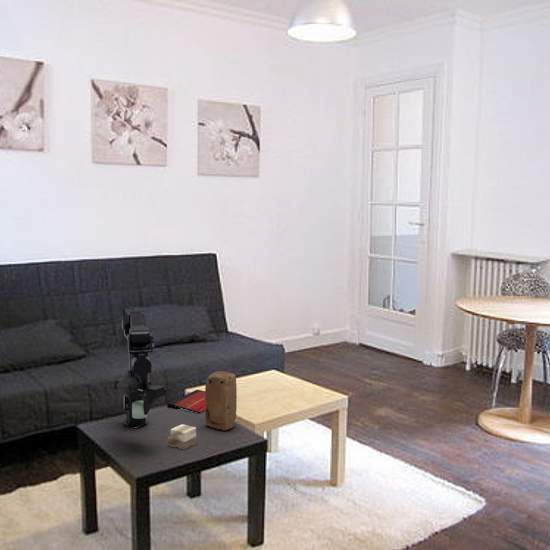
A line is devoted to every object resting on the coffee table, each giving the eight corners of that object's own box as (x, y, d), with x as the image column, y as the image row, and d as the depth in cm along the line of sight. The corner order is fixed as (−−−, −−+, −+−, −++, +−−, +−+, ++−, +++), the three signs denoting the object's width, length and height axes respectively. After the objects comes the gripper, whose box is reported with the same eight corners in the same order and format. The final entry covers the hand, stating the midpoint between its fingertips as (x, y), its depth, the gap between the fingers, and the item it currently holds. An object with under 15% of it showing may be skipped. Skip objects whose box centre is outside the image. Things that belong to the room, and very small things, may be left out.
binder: (167, 402, 251) (196, 388, 270) (166, 408, 251) (196, 394, 270) (201, 411, 244) (229, 396, 263) (201, 417, 244) (229, 401, 263)
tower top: (170, 438, 213) (170, 429, 213) (182, 432, 218) (182, 424, 218) (184, 441, 210) (184, 433, 210) (196, 436, 215) (196, 427, 215)
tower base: (167, 446, 214) (167, 437, 213) (181, 439, 220) (181, 431, 219) (183, 451, 210) (183, 442, 210) (197, 444, 216) (197, 435, 216)
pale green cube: (129, 416, 212) (128, 403, 212) (139, 412, 216) (139, 399, 216) (140, 419, 210) (139, 406, 209) (150, 415, 214) (150, 402, 213)
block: (238, 426, 232) (239, 373, 229) (226, 433, 225) (227, 378, 223) (213, 420, 237) (213, 368, 235) (201, 427, 231) (202, 373, 228)
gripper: (101, 367, 209) (101, 413, 211) (142, 377, 199) (143, 425, 201) (126, 360, 219) (126, 405, 220) (167, 369, 209) (167, 416, 211)
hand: (140, 412), depth 213 cm, fingers closed on pale green cube, 5 cm apart
